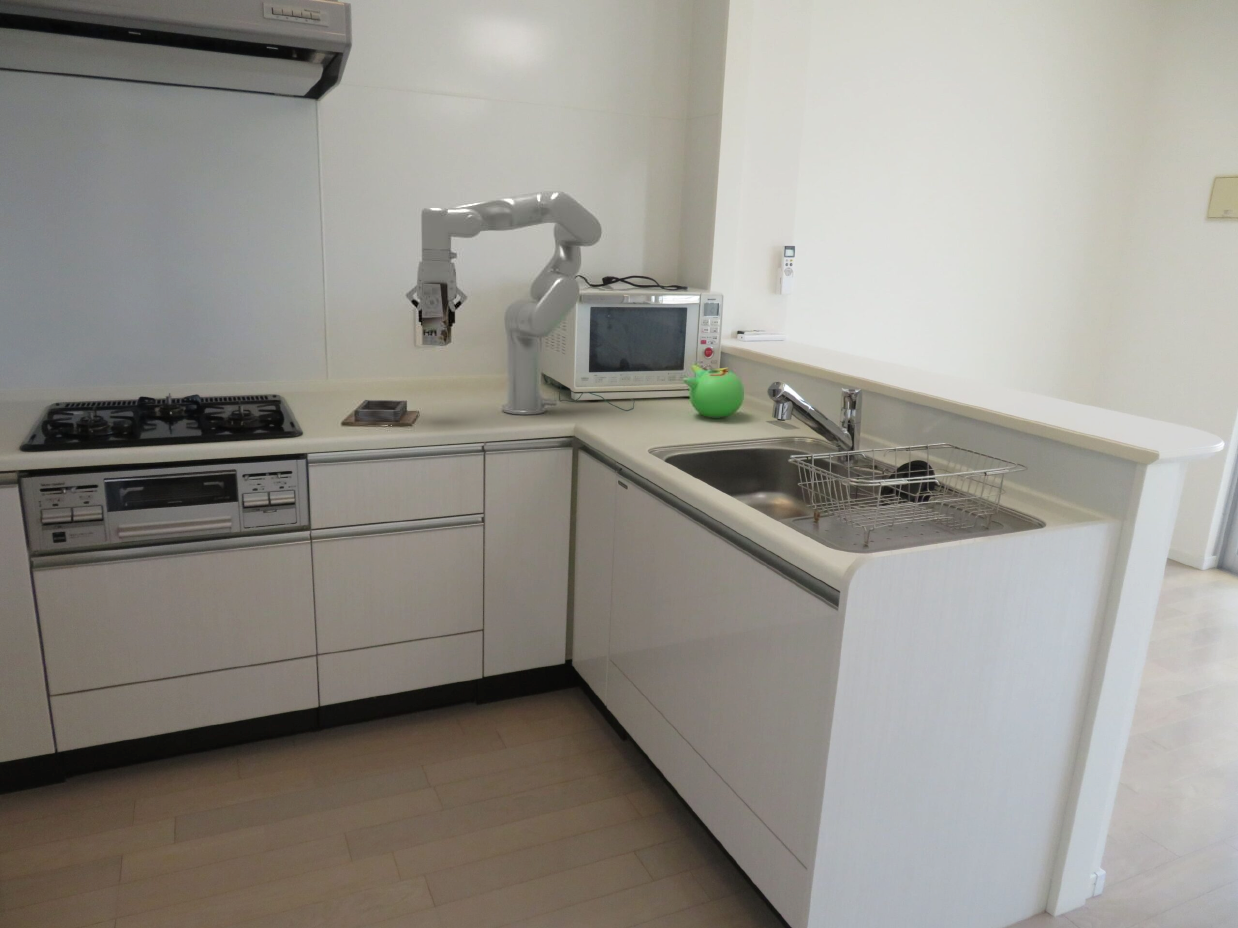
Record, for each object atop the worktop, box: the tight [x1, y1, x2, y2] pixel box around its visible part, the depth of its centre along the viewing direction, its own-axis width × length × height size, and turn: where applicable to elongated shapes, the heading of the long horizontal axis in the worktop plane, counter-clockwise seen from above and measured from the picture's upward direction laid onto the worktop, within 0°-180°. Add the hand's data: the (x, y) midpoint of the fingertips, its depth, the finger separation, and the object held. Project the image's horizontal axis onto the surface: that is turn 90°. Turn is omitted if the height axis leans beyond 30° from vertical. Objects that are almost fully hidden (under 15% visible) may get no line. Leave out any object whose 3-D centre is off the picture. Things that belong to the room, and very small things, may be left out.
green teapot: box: [682, 364, 745, 419], centre depth 260 cm, size 18×17×15 cm
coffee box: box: [421, 283, 452, 347], centre depth 237 cm, size 9×6×16 cm
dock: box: [340, 399, 421, 427], centre depth 243 cm, size 18×16×4 cm
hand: (436, 325), depth 238 cm, fingers closed on coffee box, 6 cm apart
